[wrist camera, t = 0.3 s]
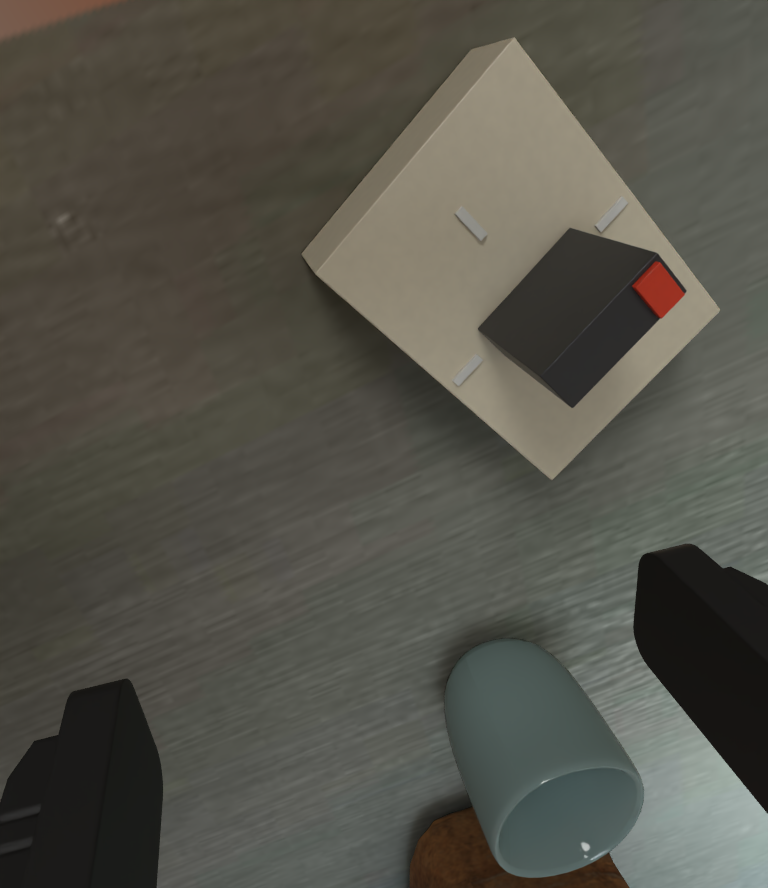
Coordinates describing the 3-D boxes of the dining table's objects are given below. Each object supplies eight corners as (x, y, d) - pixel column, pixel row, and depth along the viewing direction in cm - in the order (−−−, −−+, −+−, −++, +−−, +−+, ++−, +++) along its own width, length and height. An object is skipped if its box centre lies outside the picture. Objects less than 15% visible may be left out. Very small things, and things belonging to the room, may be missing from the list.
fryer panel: (300, 254, 27) (315, 274, 23) (471, 48, 25) (516, 35, 21) (515, 442, 33) (553, 482, 29) (664, 289, 31) (724, 311, 28)
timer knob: (506, 356, 26) (576, 412, 21) (476, 328, 26) (542, 379, 20) (596, 259, 25) (693, 292, 20) (569, 226, 25) (662, 253, 20)
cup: (419, 724, 40) (479, 892, 31) (436, 622, 37) (507, 777, 28) (537, 709, 42) (624, 863, 33) (562, 611, 39) (665, 753, 30)
